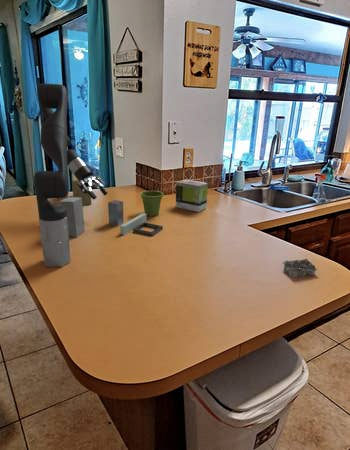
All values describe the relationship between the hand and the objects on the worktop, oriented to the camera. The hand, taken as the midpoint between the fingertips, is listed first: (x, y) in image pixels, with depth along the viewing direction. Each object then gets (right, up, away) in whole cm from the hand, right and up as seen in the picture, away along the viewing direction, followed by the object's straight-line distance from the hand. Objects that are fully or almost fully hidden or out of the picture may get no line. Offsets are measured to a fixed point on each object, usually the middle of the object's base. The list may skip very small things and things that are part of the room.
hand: (100, 196), depth 160 cm
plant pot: (+23, -8, +17) cm, 30 cm away
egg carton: (+80, -31, -37) cm, 94 cm away
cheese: (-20, 0, +35) cm, 40 cm away
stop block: (+7, -13, +1) cm, 15 cm away
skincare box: (-9, -18, -12) cm, 23 cm away
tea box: (+44, -4, +30) cm, 53 cm away
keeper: (+23, -16, -5) cm, 28 cm away
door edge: (+16, -15, -2) cm, 22 cm away
